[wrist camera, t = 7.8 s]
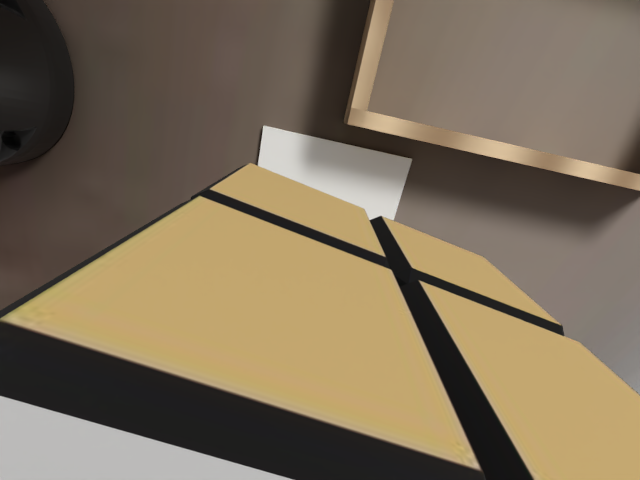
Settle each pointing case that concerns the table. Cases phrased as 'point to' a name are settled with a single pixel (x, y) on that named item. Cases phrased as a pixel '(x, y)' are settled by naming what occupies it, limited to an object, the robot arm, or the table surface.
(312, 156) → the pad
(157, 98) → the table surface
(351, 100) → the wooden frame
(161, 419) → the puzzle cube
